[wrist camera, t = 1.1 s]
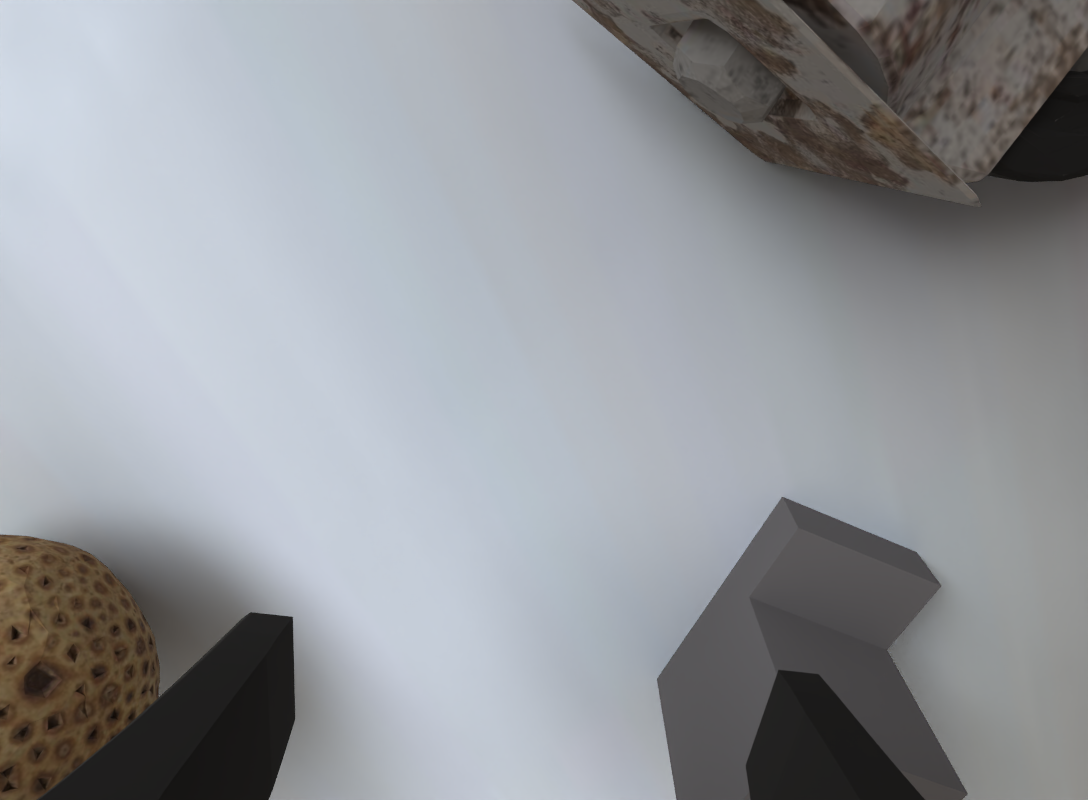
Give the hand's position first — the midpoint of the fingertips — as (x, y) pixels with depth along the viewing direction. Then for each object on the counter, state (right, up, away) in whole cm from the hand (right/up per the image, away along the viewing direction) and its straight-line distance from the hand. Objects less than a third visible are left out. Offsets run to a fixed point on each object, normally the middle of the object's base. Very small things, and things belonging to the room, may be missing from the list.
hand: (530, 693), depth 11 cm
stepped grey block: (+7, -2, +11) cm, 14 cm away
